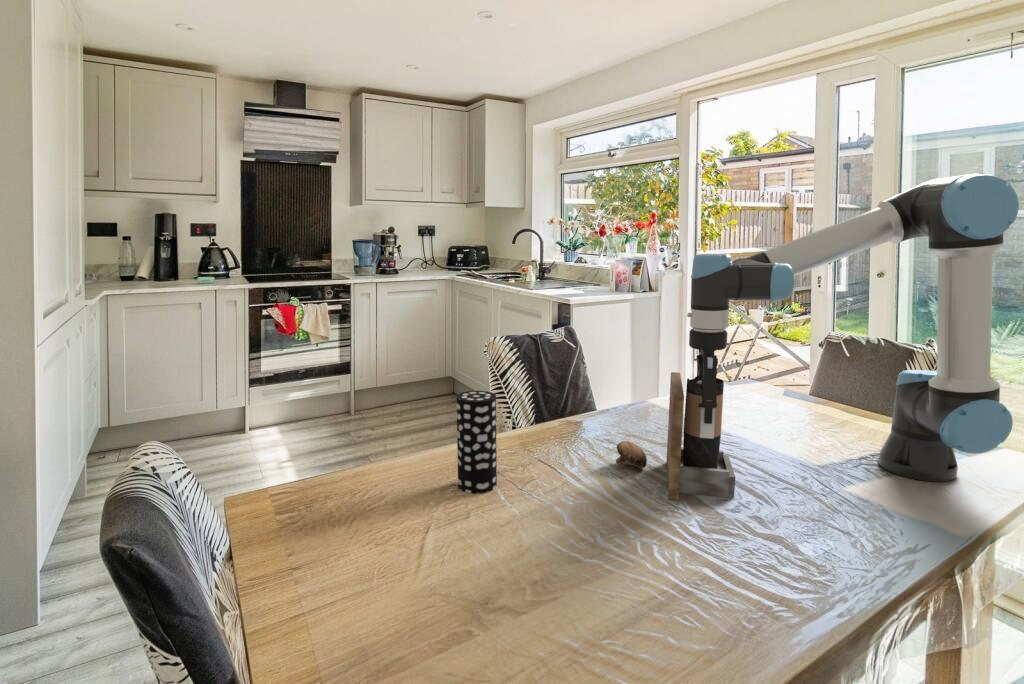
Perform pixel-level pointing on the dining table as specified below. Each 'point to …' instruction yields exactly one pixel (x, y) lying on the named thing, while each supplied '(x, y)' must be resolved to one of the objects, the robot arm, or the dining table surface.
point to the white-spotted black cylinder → (476, 441)
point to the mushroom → (630, 455)
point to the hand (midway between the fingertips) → (704, 427)
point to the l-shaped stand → (677, 474)
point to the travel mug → (694, 447)
